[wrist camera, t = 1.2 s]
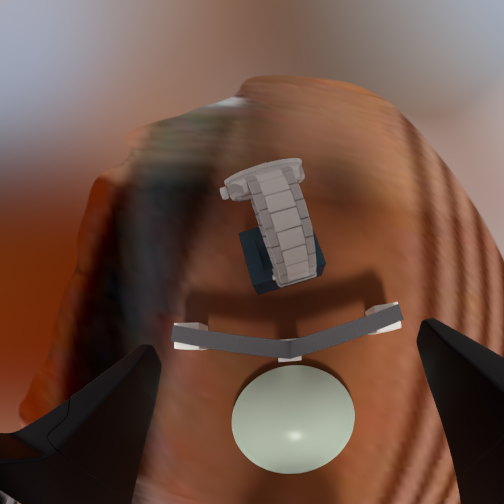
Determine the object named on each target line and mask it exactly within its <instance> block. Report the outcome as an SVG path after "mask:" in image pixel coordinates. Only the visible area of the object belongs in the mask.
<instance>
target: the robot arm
mask: <svg viewBox="0 0 504 504" xmlns="http://www.w3.org/2000/svg"><path fill="white" fill-rule="evenodd" d="M417 347H418V350H419V353H420V357H421V360H422V364H423V367H424V371H425V375H426V378H427V382H428V384H429V387H430V390H431V393H432V395H433V398H434V401H435V404H436V407H437V410H438V412H439V415H440V419H441V422H442V425H443V428H444V431H445V435H446V438H447V442H448V445H449V449H450V453H451V456H452V460H453V465H454V469H455V473H456V477H457V478H456V479H457V483H458V489H459V494H460V500H461V504H504V358H503V357H502V356H500V355H498V354H496V353H495V352H493V351H491V350H490V349H488V348H486V347H484V346H483V345H481V344H479V343H477V342H476V341H474V340H472V339H470V338H469V337H467V336H465V335H463V334H461V333H460V332H458V331H456V330H454V329H452V328H451V327H449V326H447V325H445V324H443V323H442V322H440V321H438V320H436V319H434V318H430V319H425V320H423V321H422V322H421V326H420V329H419V333H418V336H417ZM160 374H161V361H160V359H159V357H158V355H157V352H156V350H155V348H154V347H153V346H152V345H140V346H139V347H138V348H136V349H135V350H134V351H132V352H131V353H130V354H128V355H127V356H126V357H124V358H123V359H122V360H120V361H119V362H118V363H116V364H115V365H114V366H112V367H111V368H110V369H108V370H107V371H106V372H104V373H103V374H101V375H100V376H99V377H97V378H96V379H95V380H93V381H92V382H91V383H89V384H88V385H87V386H85V387H84V388H83V389H81V390H80V391H79V392H77V393H76V394H74V395H73V396H72V397H71V398H70V399H68V400H66V401H65V402H64V403H62V404H61V405H59V406H58V407H57V408H55V409H54V410H52V411H51V412H49V413H48V414H46V415H44V416H43V417H41V418H39V419H38V420H36V421H34V422H33V423H31V424H29V425H28V426H26V427H24V428H22V429H21V430H19V431H16V432H13V433H0V504H132V502H131V501H132V498H133V493H134V488H135V484H136V479H137V475H138V471H139V466H140V462H141V458H142V454H143V450H144V446H145V442H146V438H147V434H148V430H149V426H150V423H151V419H152V415H153V412H154V408H155V403H156V398H157V392H158V385H159V379H160Z"/></svg>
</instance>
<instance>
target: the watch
mask: <svg viewBox="0 0 504 504" xmlns="http://www.w3.org/2000/svg"><path fill="white" fill-rule="evenodd" d="M304 179H305V174H304V171H303V168H302V161H301V159H299V158H287V159H280V160H275V161H271V162H267V163H266V162H265V163H263V164H260V165H256V166H253V167H251V168H248V169H245V170H243V171H240V172H238V173H236V174H234V175H232V176H230V177H229V178H227V179H226V180H225V181H224V183H225V186H227V188H226V187H222V188H220V193H221V196H222V198H223V200H226V199H229V196H230V198H231V199H232V200H233V201H245V200H249V199H250V200H251V203H252V206H253V209H254V212H255V216H256V218H257V221H258V224H259V225H260V226H259V227H258V228H254V229H251V230H248V231H244V232H241V233H239V237H240V240H241V244H242V248H243V251H244V255H245V259H246V262H247V266H248V270H249V273H250V277H251V281H252V284H253V287H254V289H255V291H256V292H257V294H258V295H259V294H262V293H266V292H269V291H272V290H276V289H279V288H282V287H286V286H289V285H292V284H296V283H299V282H302V281H305V280H308V279H312V278H315V277H318V276H321V275H322V272H323V269H324V267H325V264H326V262H325V260H324V257H323V254H322V252H321V249H320V247H319V244H318V241H317V239H316V236H315V234H314V231H313V229H312V225H311V221H310V217H309V214H308V210H307V207H306V203H305V200H304V199H303V195H302V192H301V189H300V186H299V184H300V183H301V182H302V181H304ZM293 207H294V208H293ZM289 208H290V209H289ZM286 209H287V210H286ZM275 212H276V213H275ZM256 213H257V214H256Z"/></svg>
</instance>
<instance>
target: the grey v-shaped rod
mask: <svg viewBox="0 0 504 504" xmlns="http://www.w3.org/2000/svg"><path fill="white" fill-rule="evenodd" d="M396 304H398V302H394V303H389V304H383V305H376V306H373V307H371V308H370V309H368V310H367V311H365V314H366V316H368V315H370V314H373V313H376V312H378V311H381V310H384V309H386V308H389V307H391V306H394V305H396ZM174 325H177V326H182V327H188V328H194V329H200V330H206V331H208V326H207V325H204V324H201V323H199V322H196V323H174ZM399 328H401V322H400V321H399V322H396V323H394V324H391V325H389V326H387V327H384V328H381V329H379V330H376V331H374V332H371V333H369V334H368V335H372V334H378V333H383V332H388V331H392V330H396V329H399ZM294 339H297V338H294ZM294 339H283V340H285V341H290V340H294ZM174 349H183V350H209V348H204V347H199V346H193V345H188V344H183V343H178V342H174ZM298 360H302V359H301V356H299V357H295V358H292V359H285V358H278V361H279V362H287V361H298Z"/></svg>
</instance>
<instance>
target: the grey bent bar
mask: <svg viewBox="0 0 504 504" xmlns="http://www.w3.org/2000/svg"><path fill="white" fill-rule="evenodd" d="M401 320H403V316H402V313H401V310H400V307H399V304H396V305H394V306H391V307H389V308H386V309H384V310H381V311H378V312H376V313H373V314H370V315H368V316H365V317H362V318H359V319H357V320H354V321H351V322H348V323H345V324H342V325H339V326H336V327H333V328H330V329H327V330H324V331H320V332H317V333H314V334H311V335H307V336H304V337H301V338H297V339H294V340H290V341H285V340H274V339H265V338H256V337H248V336H240V335H233V334H225V333H219V332H212V331H206V330H200V329H194V328H188V327H182V326H177V325H173V331H172V337H171V341H173V342H178V343H183V344H188V345H193V346H199V347H204V348H210V349H216V350H222V351H228V352H235V353H242V354H250V355H258V356H266V357H275V358H285V359H292V358H295V357H299V356H302V355H306V354H309V353H312V352H316V351H319V350H322V349H325V348H328V347H331V346H335V345H338V344H341V343H343V342H346V341H349V340H352V339H355V338H358V337H360V336H363V335H366V334H369V333H371V332H374V331H376V330H379V329H381V328H384V327H387V326H389V325H391V324H394V323H396V322H399V321H401Z"/></svg>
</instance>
